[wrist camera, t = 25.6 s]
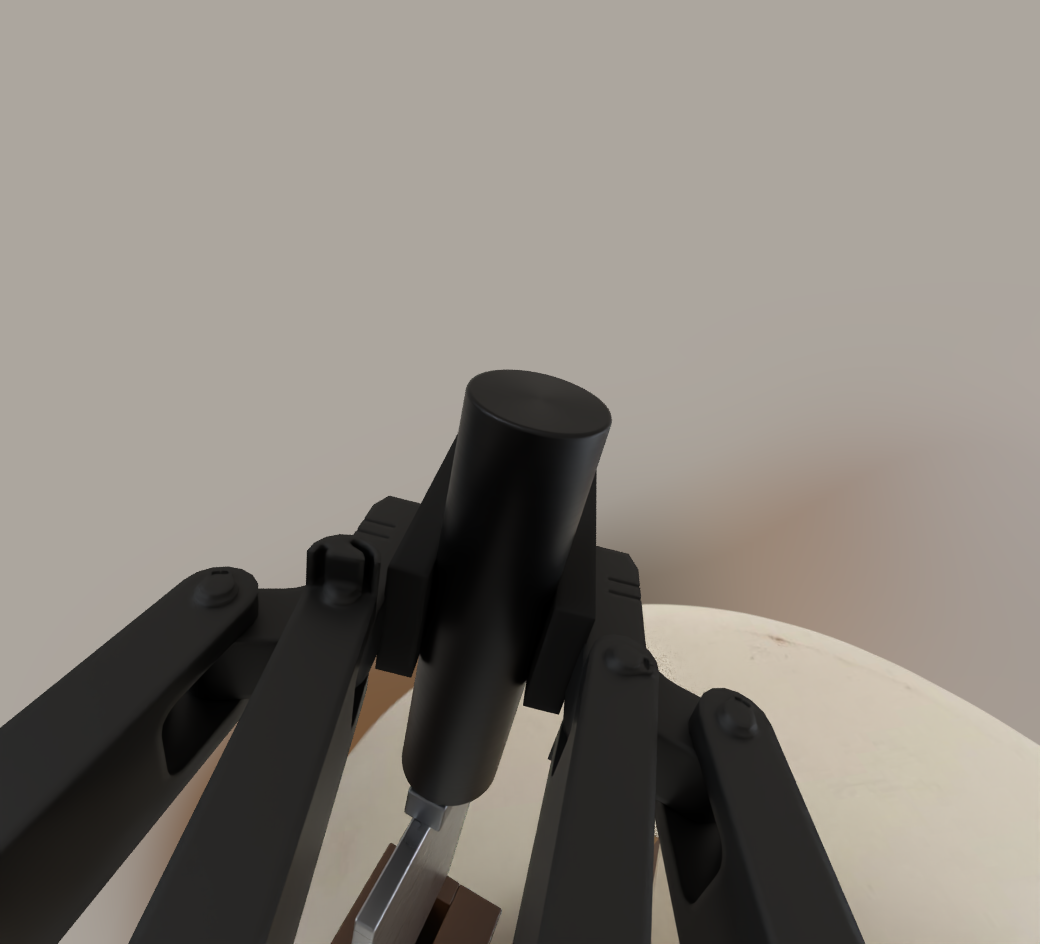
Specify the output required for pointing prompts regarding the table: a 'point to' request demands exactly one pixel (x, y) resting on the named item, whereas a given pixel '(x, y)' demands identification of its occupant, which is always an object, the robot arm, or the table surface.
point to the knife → (484, 616)
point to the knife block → (437, 913)
